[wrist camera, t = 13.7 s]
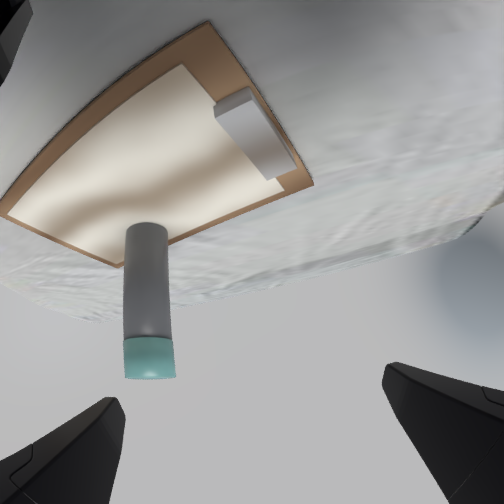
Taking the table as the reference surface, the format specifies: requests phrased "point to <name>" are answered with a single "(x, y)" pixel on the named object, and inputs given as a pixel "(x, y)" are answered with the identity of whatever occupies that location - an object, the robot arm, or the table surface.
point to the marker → (147, 304)
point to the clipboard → (159, 155)
